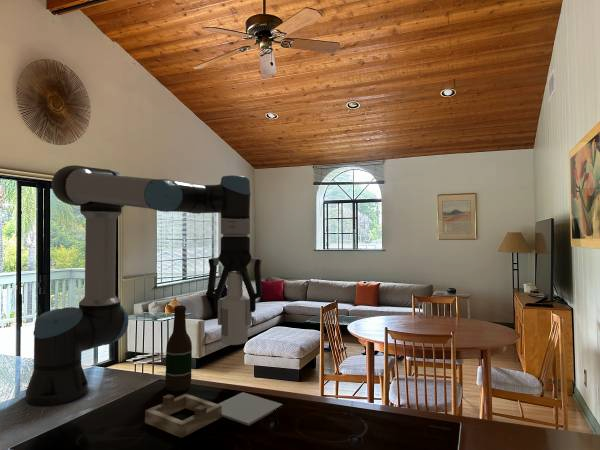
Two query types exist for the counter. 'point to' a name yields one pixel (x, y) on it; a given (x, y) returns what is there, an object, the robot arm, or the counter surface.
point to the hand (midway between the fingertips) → (234, 324)
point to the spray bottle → (234, 312)
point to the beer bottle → (179, 354)
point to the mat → (247, 408)
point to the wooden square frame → (160, 413)
